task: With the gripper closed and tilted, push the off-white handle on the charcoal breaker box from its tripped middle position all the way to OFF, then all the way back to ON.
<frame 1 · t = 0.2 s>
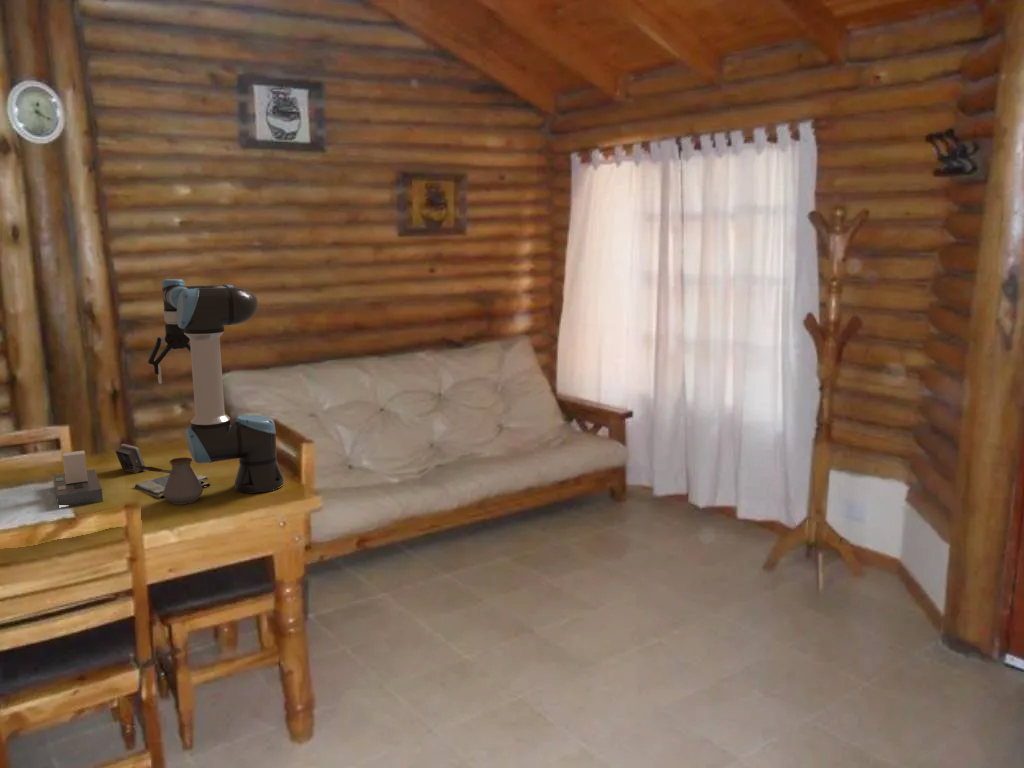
hand: (180, 381, 294), 28 cm above the table, tool pointing down, fingers open, 13 cm apart
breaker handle: (75, 467, 255), point 9 cm above the table, slide at 5.0 cm
electrical switch: (132, 471, 281), on the table
dish towel: (173, 489, 264), on the table
breaker box: (78, 493, 257), on the table
coffee pot: (170, 505, 247), on the table
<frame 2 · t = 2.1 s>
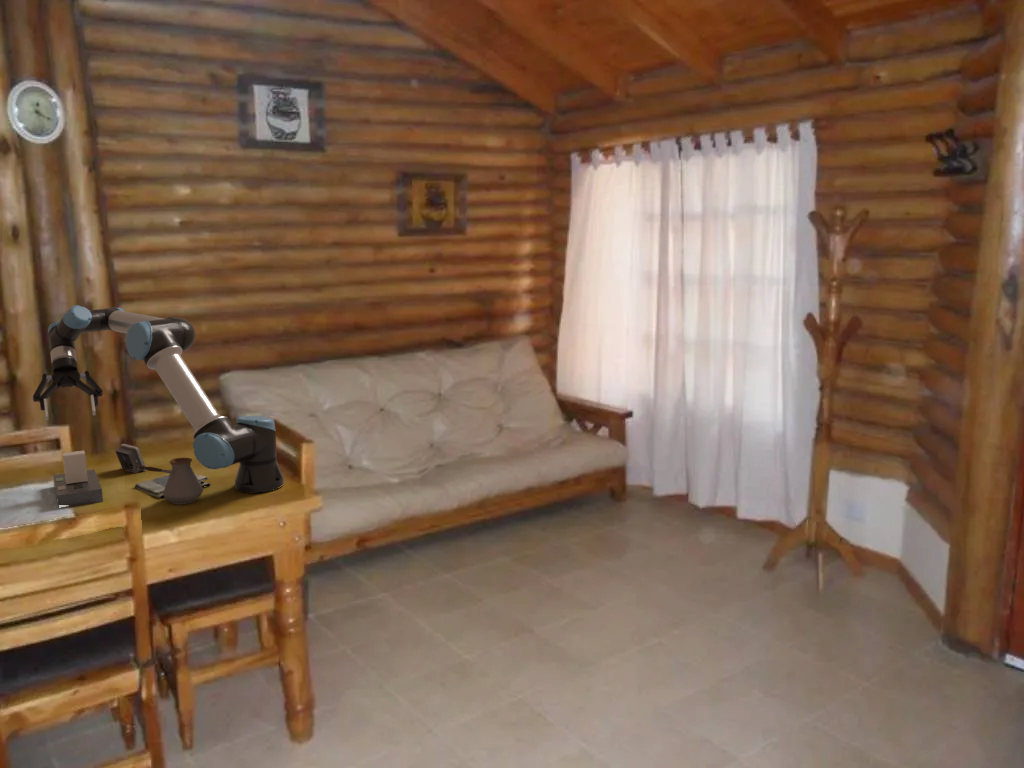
hand: (71, 415, 265), 22 cm above the table, tool tilted 45°, fingers open, 13 cm apart
nothing on the table moved.
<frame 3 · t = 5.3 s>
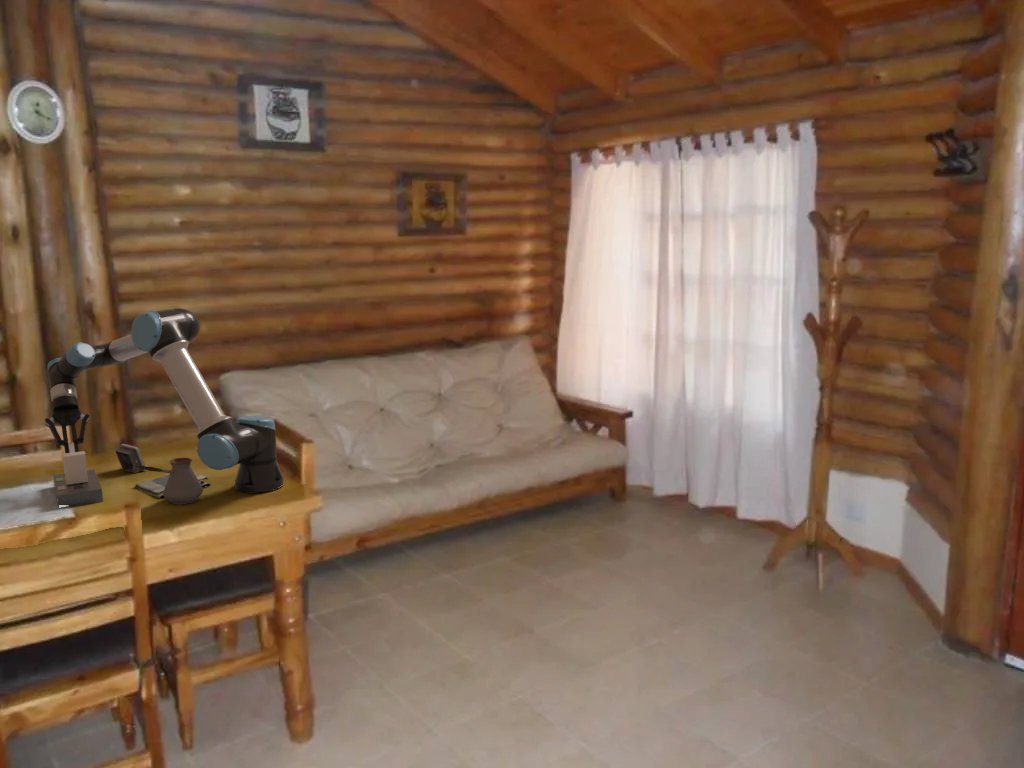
hand: (73, 461, 257), 10 cm above the table, tool tilted 45°, fingers closed
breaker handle: (75, 467, 255), point 9 cm above the table, slide at 4.1 cm, touching gripper
everything else where it was.
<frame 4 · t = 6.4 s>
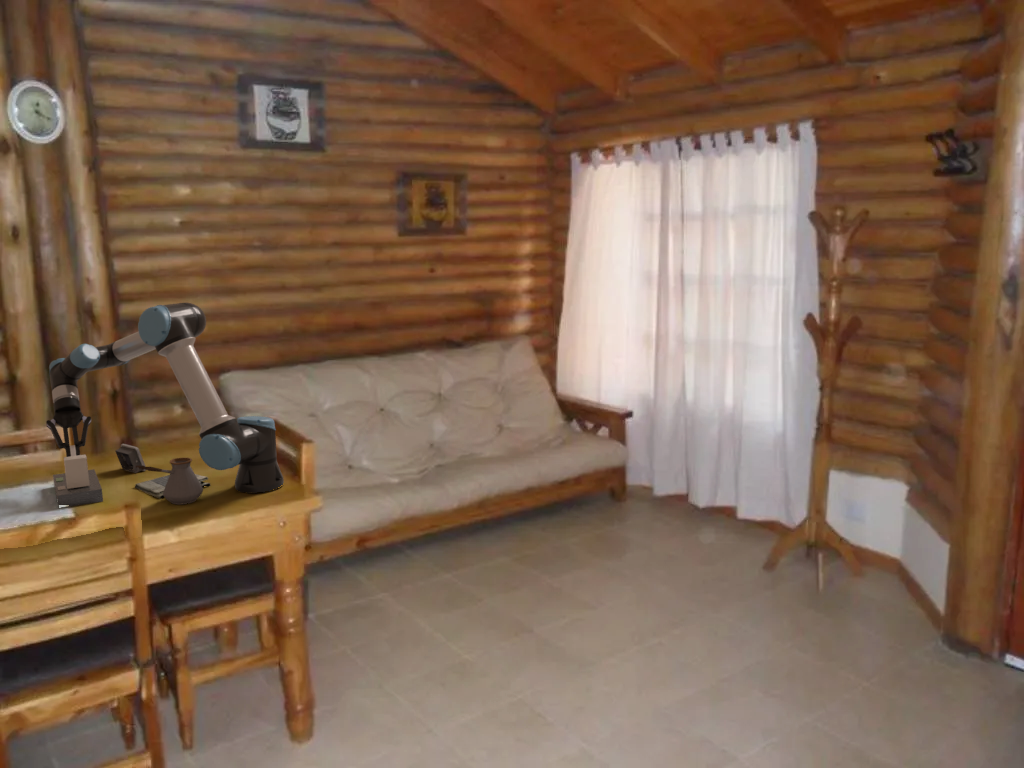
hand: (74, 465, 253), 10 cm above the table, tool tilted 45°, fingers closed
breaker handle: (76, 471, 251), point 9 cm above the table, slide at -0.5 cm, touching gripper
everything else where it was.
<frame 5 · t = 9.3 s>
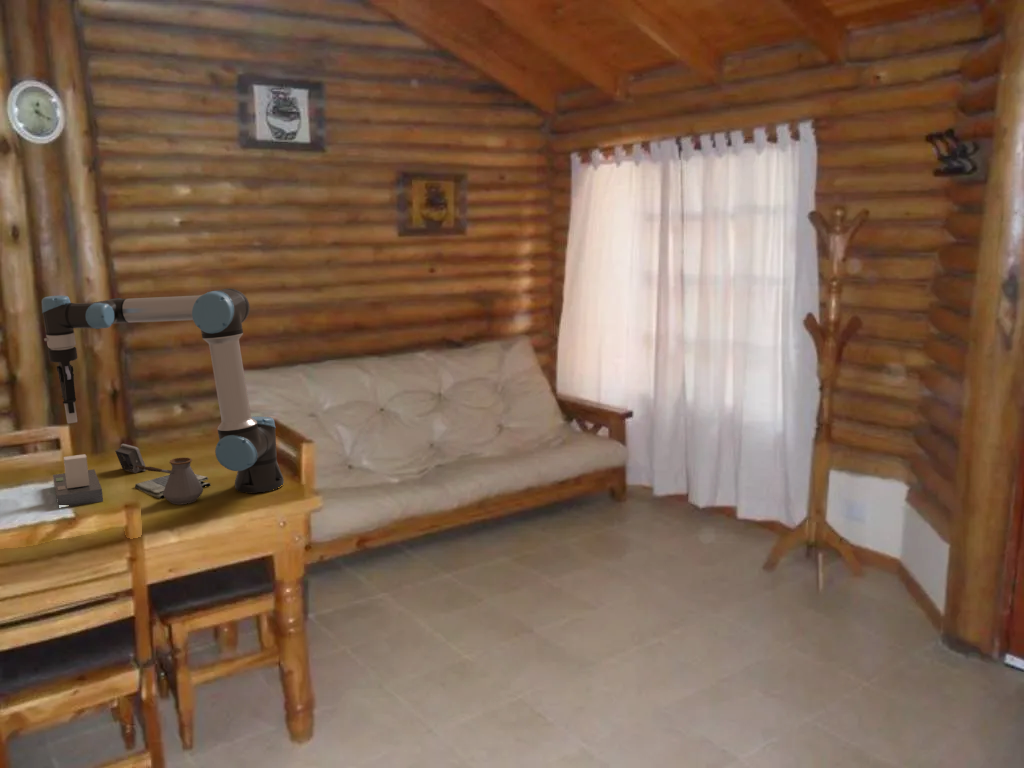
hand: (72, 422, 251), 24 cm above the table, tool pointing down, fingers closed
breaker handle: (76, 471, 251), point 9 cm above the table, slide at 0.0 cm
everything else where it was.
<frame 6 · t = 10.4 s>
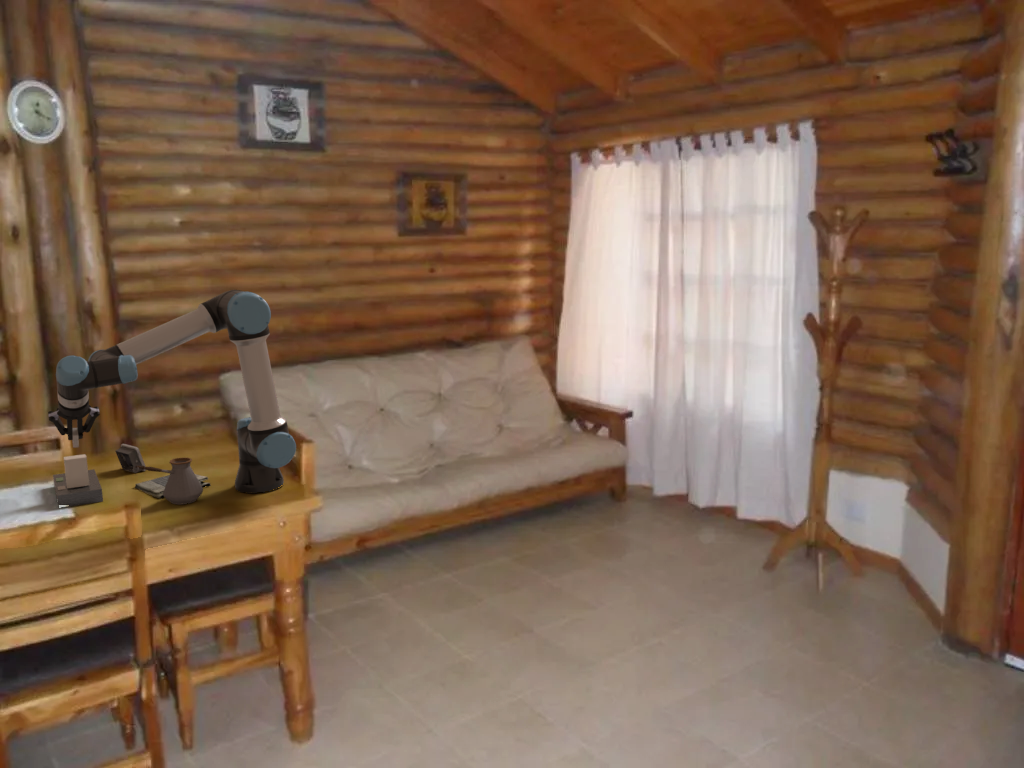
hand: (75, 443, 240), 20 cm above the table, tool tilted 45°, fingers closed
nothing on the table moved.
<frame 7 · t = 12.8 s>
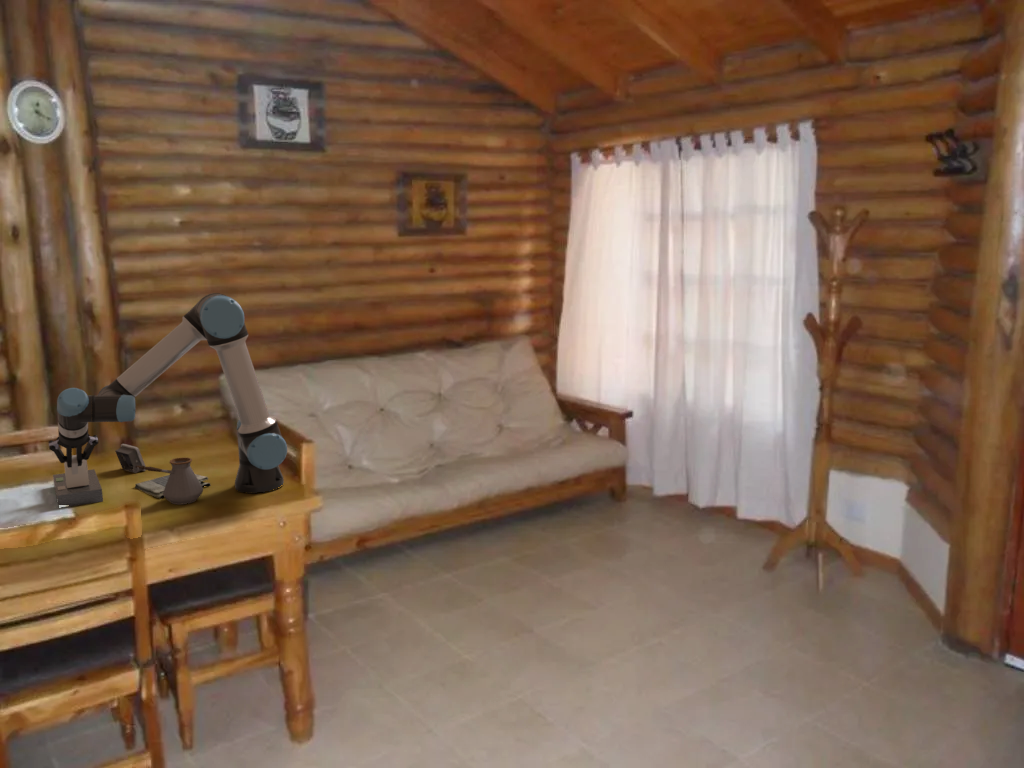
hand: (74, 470, 248), 10 cm above the table, tool tilted 45°, fingers closed
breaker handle: (76, 470, 252), point 9 cm above the table, slide at 0.5 cm, touching gripper
everything else where it was.
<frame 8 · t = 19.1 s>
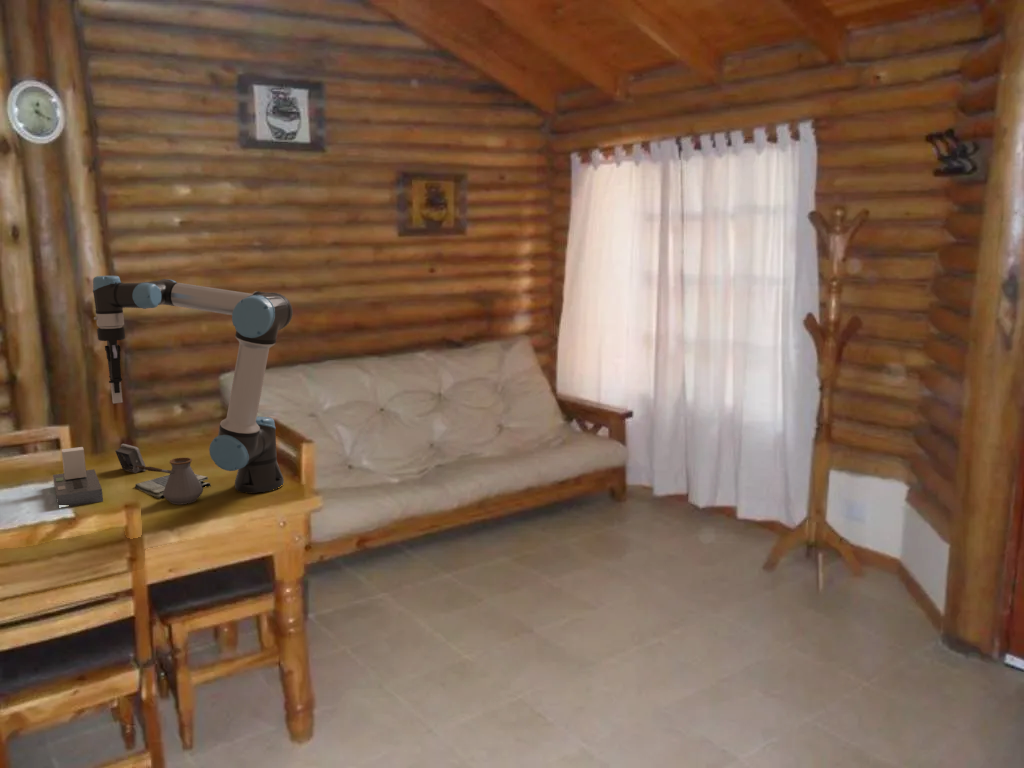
hand: (117, 402, 252), 29 cm above the table, tool pointing down, fingers closed
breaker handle: (74, 463, 260), point 9 cm above the table, slide at 10.0 cm
everything else where it was.
at the end: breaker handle slide at 10.0 cm; electrical switch moved 0.3 cm from its start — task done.
